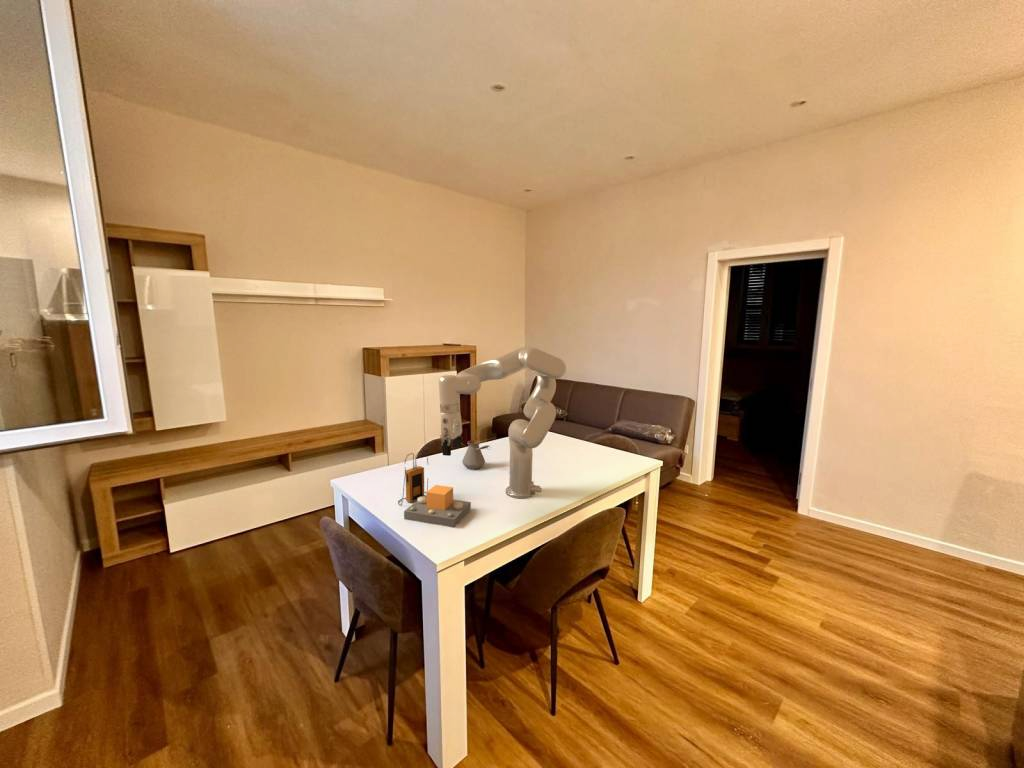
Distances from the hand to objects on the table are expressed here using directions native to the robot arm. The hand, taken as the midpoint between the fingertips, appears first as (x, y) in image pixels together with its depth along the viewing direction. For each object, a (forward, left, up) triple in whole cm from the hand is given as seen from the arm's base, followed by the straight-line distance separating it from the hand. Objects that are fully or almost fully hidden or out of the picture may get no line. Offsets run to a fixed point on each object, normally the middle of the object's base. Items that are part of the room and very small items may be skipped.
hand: (452, 451), depth 156 cm
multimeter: (+20, -1, -22) cm, 30 cm away
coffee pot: (+5, -40, -22) cm, 46 cm away
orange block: (+2, +7, -19) cm, 20 cm away
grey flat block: (+2, +9, -22) cm, 24 cm away
